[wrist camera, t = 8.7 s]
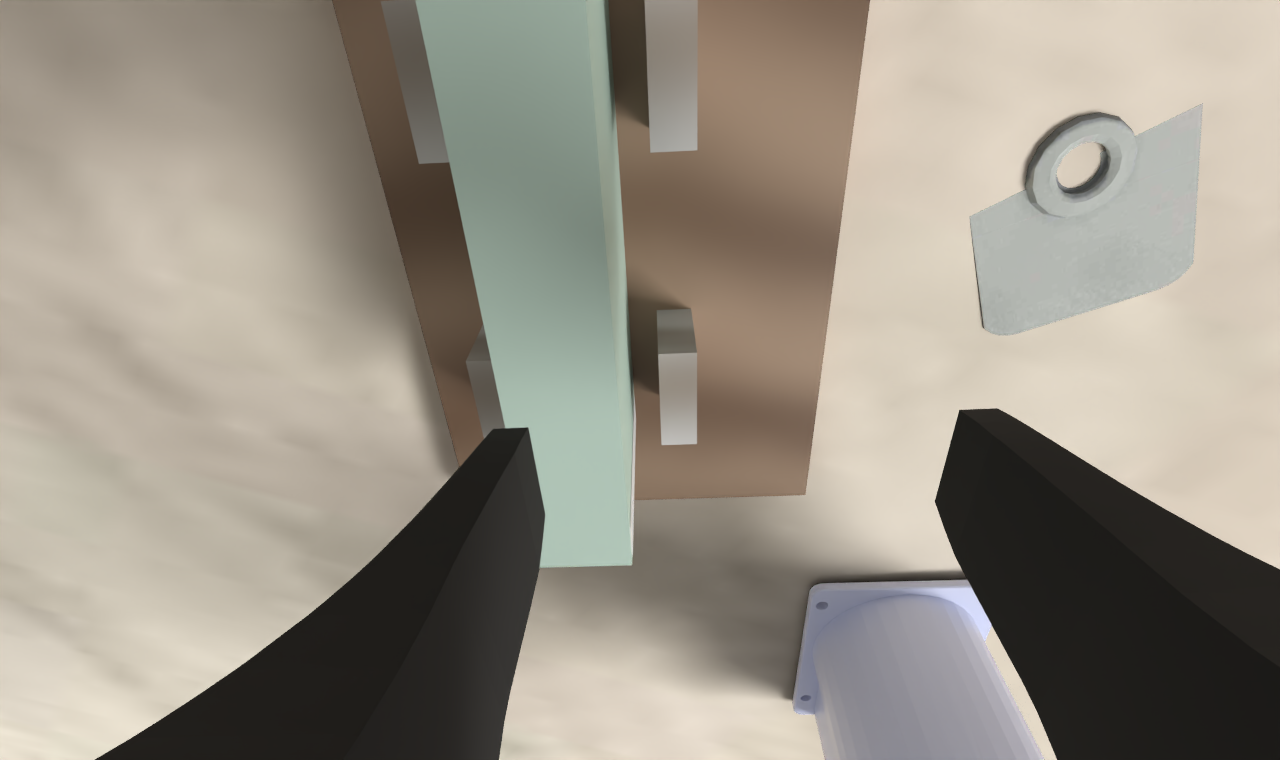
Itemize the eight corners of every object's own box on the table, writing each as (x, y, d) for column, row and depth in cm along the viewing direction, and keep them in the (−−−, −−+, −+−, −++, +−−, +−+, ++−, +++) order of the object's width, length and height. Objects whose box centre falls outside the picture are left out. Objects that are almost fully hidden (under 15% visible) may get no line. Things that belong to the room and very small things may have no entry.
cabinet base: (798, 472, 23) (822, 549, 20) (477, 482, 23) (451, 559, 20) (890, -306, 12) (975, -402, 9) (286, -262, 12) (168, -339, 9)
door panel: (636, 418, 20) (633, 565, 15) (561, 421, 20) (533, 567, 15) (607, -20, 14) (585, -16, 9) (498, -14, 14) (412, -7, 9)
